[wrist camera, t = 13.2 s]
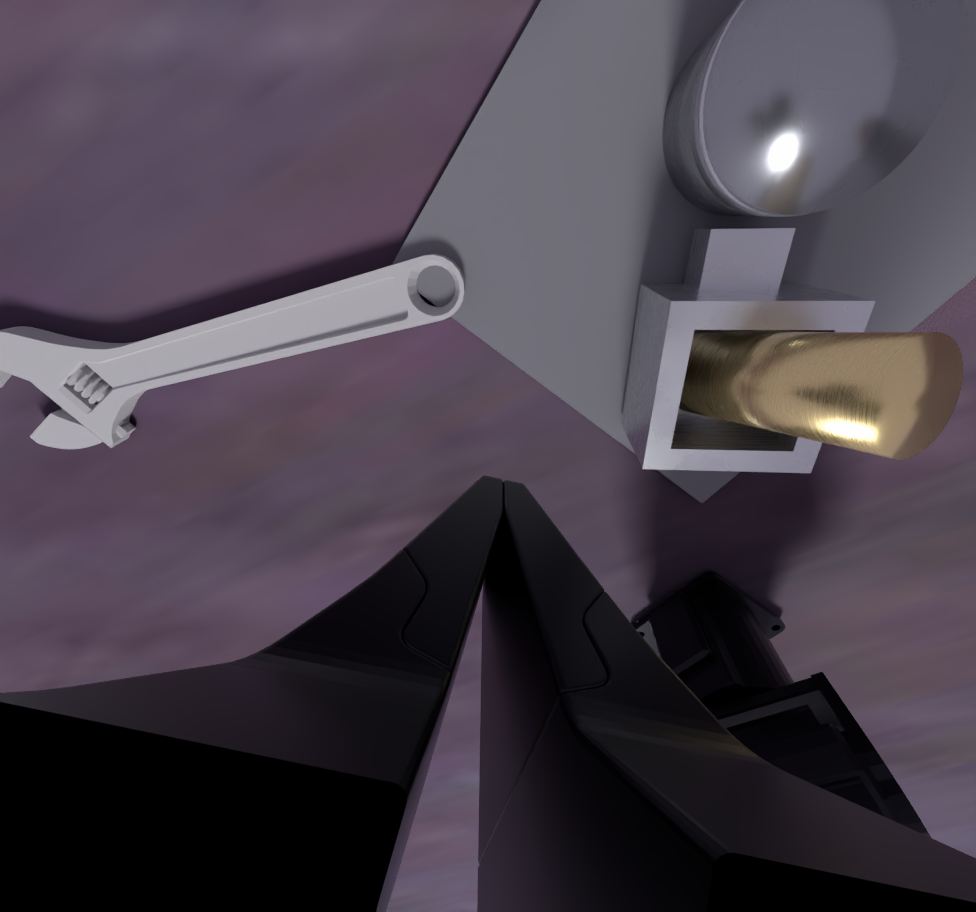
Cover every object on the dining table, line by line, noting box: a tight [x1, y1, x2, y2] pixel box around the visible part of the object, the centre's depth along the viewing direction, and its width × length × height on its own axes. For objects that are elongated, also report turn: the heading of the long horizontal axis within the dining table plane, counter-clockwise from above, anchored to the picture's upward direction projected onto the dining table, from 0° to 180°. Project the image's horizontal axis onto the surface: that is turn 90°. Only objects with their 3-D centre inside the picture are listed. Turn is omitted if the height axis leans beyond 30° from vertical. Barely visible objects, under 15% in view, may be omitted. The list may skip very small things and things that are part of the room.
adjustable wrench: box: [0, 254, 466, 449], centre depth 21 cm, size 25×6×2 cm, turn 100°
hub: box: [662, 0, 968, 217], centre depth 14 cm, size 6×6×5 cm
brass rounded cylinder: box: [679, 332, 963, 459], centre depth 15 cm, size 3×3×8 cm
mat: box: [392, 0, 976, 503], centre depth 17 cm, size 19×18×1 cm
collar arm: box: [621, 227, 876, 473], centre depth 14 cm, size 20×6×4 cm, turn 1°
